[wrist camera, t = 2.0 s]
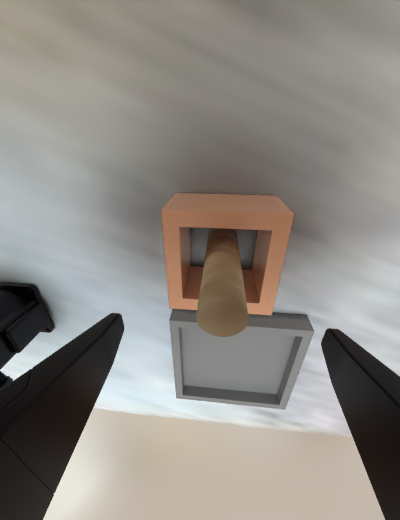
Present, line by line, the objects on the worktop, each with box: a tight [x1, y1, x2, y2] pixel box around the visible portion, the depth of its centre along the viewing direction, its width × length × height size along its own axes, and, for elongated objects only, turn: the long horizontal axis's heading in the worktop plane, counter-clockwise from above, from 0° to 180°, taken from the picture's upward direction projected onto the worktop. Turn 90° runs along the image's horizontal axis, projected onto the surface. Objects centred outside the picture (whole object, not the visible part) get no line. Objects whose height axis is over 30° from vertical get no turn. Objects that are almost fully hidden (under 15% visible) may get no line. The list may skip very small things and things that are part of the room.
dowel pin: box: [196, 228, 249, 337], centre depth 14 cm, size 2×2×9 cm
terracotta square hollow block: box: [161, 193, 294, 315], centre depth 16 cm, size 7×7×4 cm
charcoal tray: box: [170, 309, 314, 409], centre depth 23 cm, size 13×13×2 cm
